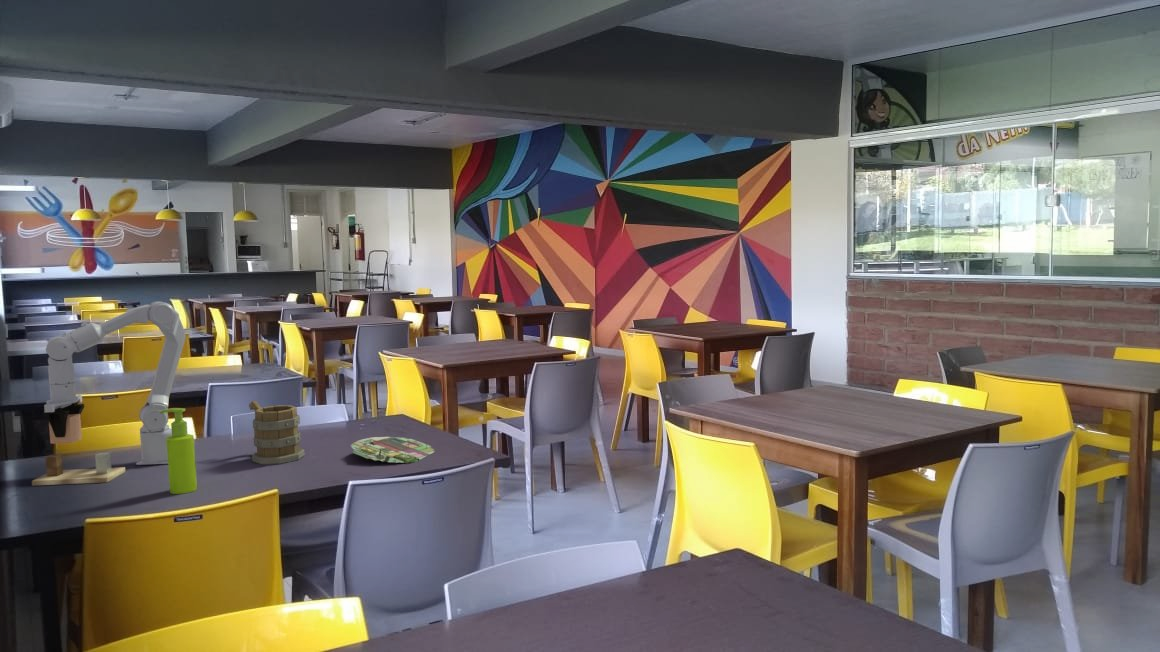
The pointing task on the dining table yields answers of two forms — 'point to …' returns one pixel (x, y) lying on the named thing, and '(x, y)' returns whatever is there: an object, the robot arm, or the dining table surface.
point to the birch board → (78, 477)
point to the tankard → (276, 434)
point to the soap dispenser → (180, 455)
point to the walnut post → (54, 465)
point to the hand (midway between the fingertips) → (66, 434)
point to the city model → (392, 449)
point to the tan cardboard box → (68, 430)
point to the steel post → (103, 463)
